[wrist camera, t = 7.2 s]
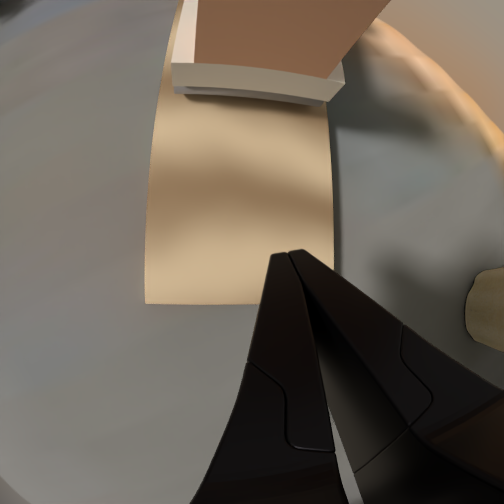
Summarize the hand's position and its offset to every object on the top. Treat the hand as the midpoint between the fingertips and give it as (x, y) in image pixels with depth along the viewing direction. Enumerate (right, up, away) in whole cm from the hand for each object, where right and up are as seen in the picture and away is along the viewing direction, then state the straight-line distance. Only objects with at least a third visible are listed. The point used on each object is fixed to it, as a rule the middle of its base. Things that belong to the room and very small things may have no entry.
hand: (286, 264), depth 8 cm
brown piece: (-1, +13, +8) cm, 15 cm away
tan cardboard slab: (-1, +9, +9) cm, 13 cm away
